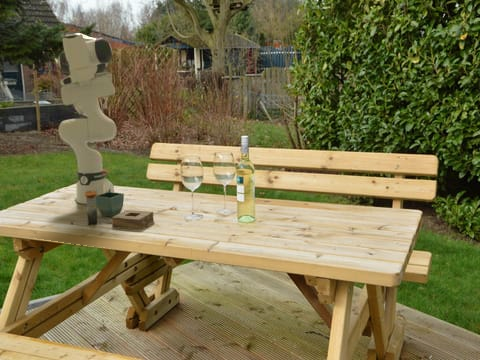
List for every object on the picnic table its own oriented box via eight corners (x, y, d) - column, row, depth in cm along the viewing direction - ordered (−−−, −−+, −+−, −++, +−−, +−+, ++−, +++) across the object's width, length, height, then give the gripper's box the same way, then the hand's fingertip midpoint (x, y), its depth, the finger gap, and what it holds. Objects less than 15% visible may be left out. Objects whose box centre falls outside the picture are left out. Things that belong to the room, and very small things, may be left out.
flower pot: (95, 216, 227) (94, 195, 226) (109, 211, 235) (108, 191, 233) (111, 219, 223) (110, 197, 222) (125, 214, 231) (124, 193, 229)
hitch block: (127, 219, 222) (126, 209, 222) (153, 221, 219) (153, 211, 218) (112, 227, 211) (111, 217, 210) (139, 229, 208) (139, 219, 207)
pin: (90, 222, 219) (88, 190, 216) (101, 222, 218) (99, 191, 215) (84, 225, 214) (82, 192, 212) (94, 226, 213) (92, 193, 210)
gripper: (111, 70, 211) (120, 104, 214) (59, 81, 209) (69, 116, 213) (109, 70, 205) (119, 105, 208) (55, 82, 203) (66, 117, 207)
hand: (93, 111), depth 210 cm, fingers open, 8 cm apart
